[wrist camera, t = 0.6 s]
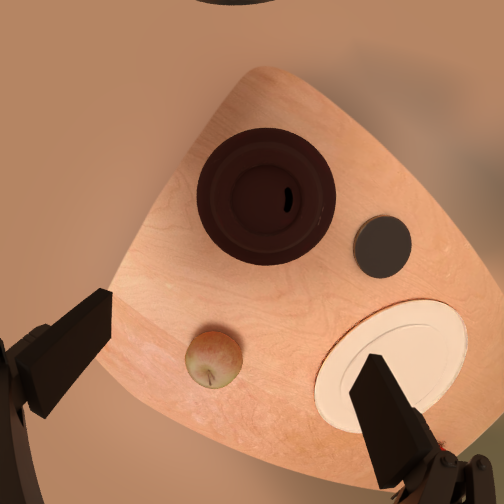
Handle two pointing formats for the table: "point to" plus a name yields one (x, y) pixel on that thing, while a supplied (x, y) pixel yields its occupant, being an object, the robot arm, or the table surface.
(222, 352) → the fruit
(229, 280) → the table surface
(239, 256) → the coffee cup
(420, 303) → the plate
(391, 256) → the slate coaster
